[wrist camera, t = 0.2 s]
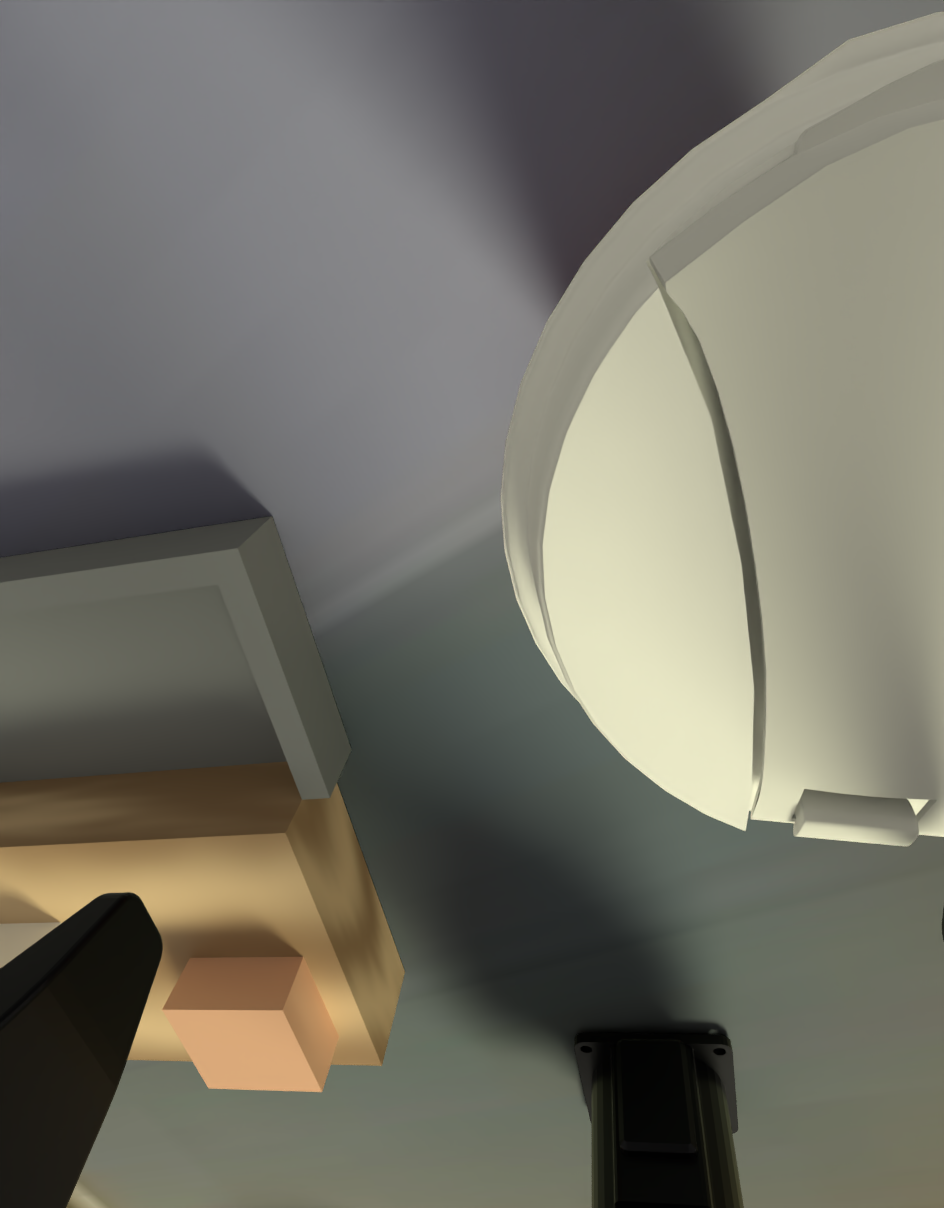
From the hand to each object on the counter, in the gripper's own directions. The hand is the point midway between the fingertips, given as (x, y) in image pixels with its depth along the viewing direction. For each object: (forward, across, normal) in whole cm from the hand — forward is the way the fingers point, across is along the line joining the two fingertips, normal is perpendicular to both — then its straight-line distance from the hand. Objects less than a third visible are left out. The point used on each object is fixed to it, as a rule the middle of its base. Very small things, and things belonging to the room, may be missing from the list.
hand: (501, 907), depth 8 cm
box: (+14, +18, +4) cm, 23 cm away
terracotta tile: (+10, +13, +16) cm, 24 cm away
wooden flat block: (+14, +18, +14) cm, 27 cm away
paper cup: (+15, -4, -4) cm, 16 cm away
